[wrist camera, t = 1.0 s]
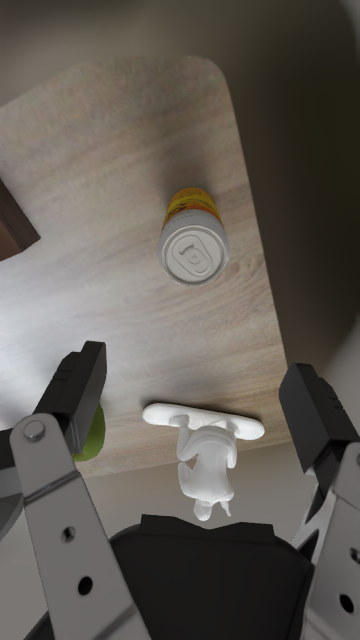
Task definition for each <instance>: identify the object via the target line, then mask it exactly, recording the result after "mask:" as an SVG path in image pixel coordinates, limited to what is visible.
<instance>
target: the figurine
mask: <svg viewBox="0 0 360 640" xmlns="http://www.w3.org/2000/svg"><path fill="white" fill-rule="evenodd" d="M142 417H143V419H144V420H145V421H146V422H148V423H150V424H157V425H169V426H175V427H180V428H179V435H180V437H179V440H178V444H177V457H178V458H179V460H181V461H187V460H189V459H190V458H192V457H193V456H194V455H195V454H197V453H198V458H197V462H196V464H195V466H194V469H193V471H192V470H191V469H190V468H189V467H188V465H187V464H186V463H184V462H181V463H179V466H178V473H179V481H180V486H181V489H182V491H183V493H184V494H185V495H187V496H189V497H192V498H196V504H195V507H194V513H195V515H196V516H197V517H198V519H200V520H202V521H205V520H207V519H208V518H209V517H210V515H211V511H212V505H214V503H216V502H218V501H220V503H221V505H222V508H224V509H225V510H226V512H227V514H228V516H230V515H231V514H230V511H229V509H228V506H229V504H228V501H229V500H231V499H232V498H233V496H234V490H233V488H232V486H230V485H229V482H228V480H227V476H226V466H227V467H228V468H233V467H234V466H235V465H236V458H237V448H236V437H237V438H241V439H245V440H253V439H257V438H259V437H261V436H262V435H263V434H264V427H263V425H262V424H261V423H260V422H259V421H257V420H255V419H251V418H247V417H243V416H238V415H232V414H226V413H220V412H214V411H208V410H203V409H196V408H191V407H186V406H180V405H174V404H163V403H155V404H151V405H149V406H147V407H146V408H145V409H144V410H143V412H142ZM190 429H194V430H196V431H194V432H193V433H192V435H191V436H190Z"/></svg>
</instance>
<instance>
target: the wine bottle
mask: <svg viewBox="0 0 360 640" xmlns="http://www.w3.org/2000/svg"><path fill="white" fill-rule="evenodd" d="M23 502H24V498H23V493H18V494H14V495H10V496H6V497H2V498H0V541H1V540H2V539H3V538H4V536H5V535H6V534H7V533H8V531H9V530H10V529H11V528H12V526H13V525H14V523H15V522H16V520H17V519H18V517H19V516H20V514H21V512H22V509H23V507H24V505H23Z"/></svg>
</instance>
